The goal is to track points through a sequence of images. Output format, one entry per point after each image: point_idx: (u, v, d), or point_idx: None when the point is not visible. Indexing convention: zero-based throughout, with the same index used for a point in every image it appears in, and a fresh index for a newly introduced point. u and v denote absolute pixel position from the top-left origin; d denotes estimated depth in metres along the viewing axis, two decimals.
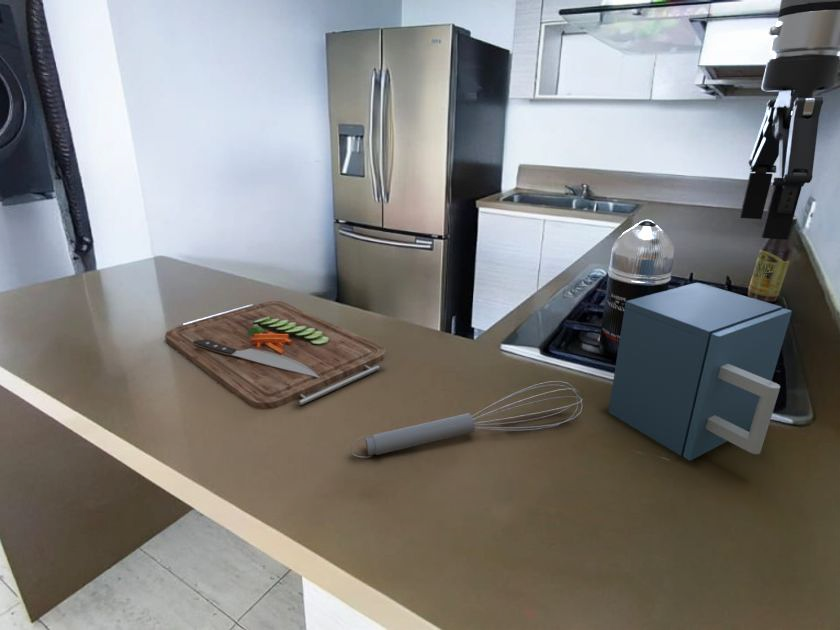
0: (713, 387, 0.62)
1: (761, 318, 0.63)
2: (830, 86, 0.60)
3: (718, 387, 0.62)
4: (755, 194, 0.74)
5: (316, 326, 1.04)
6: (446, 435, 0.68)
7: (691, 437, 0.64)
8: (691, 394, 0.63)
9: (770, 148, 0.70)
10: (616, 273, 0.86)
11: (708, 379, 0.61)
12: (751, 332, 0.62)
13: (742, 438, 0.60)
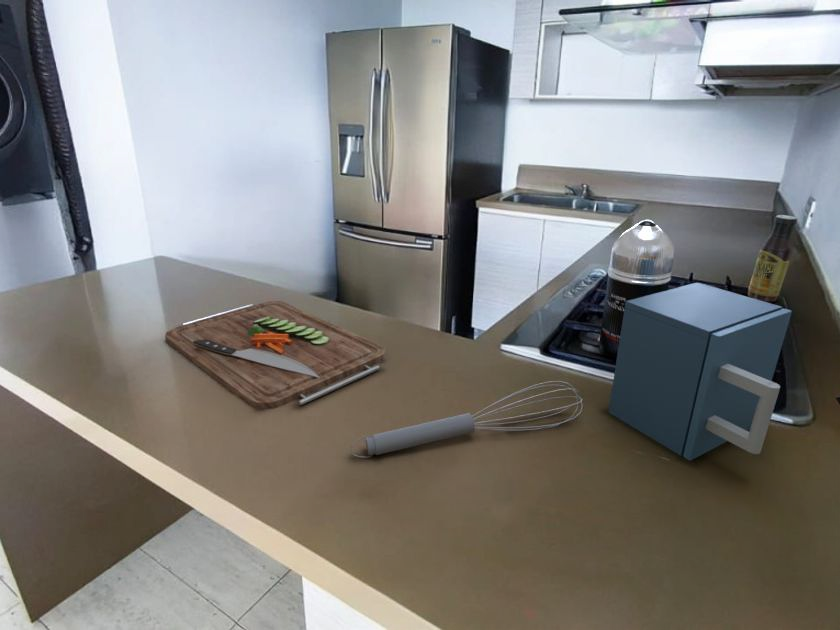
0: (713, 387, 0.62)
1: (761, 318, 0.63)
2: None
3: (718, 387, 0.62)
4: None
5: (316, 326, 1.04)
6: (446, 435, 0.68)
7: (691, 437, 0.64)
8: (691, 394, 0.63)
9: None
10: (616, 273, 0.86)
11: (708, 379, 0.61)
12: (751, 332, 0.62)
13: (742, 438, 0.60)
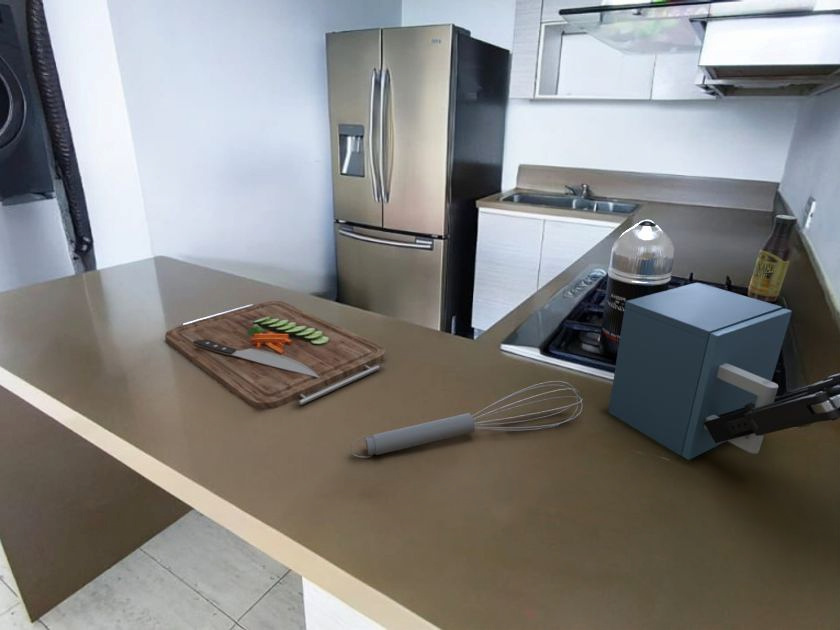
0: (712, 386, 0.62)
1: (760, 318, 0.63)
2: None
3: (717, 386, 0.62)
4: None
5: (316, 326, 1.04)
6: (446, 435, 0.68)
7: (690, 436, 0.64)
8: (691, 394, 0.63)
9: None
10: (616, 273, 0.86)
11: (706, 378, 0.61)
12: (750, 332, 0.62)
13: (740, 437, 0.60)
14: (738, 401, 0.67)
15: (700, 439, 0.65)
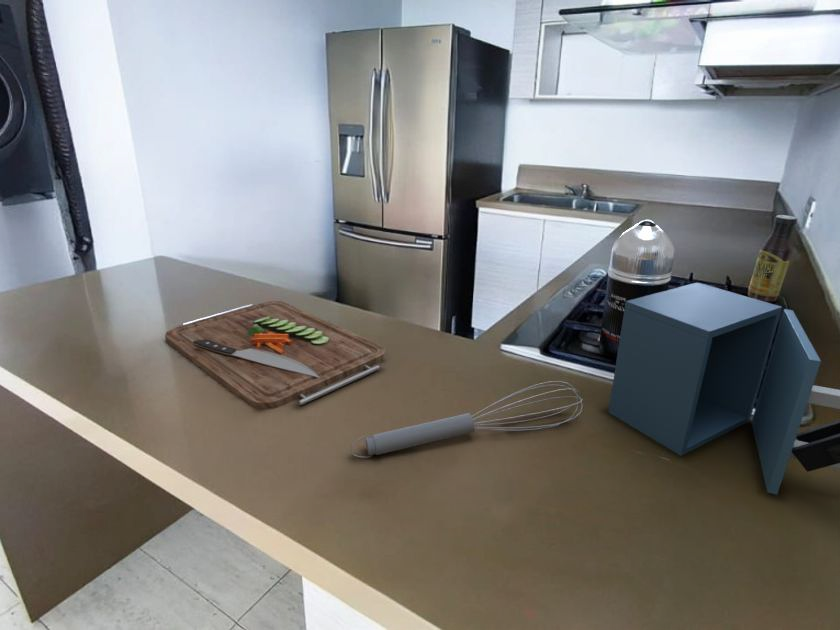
0: None
1: (796, 326, 0.61)
2: None
3: None
4: None
5: (316, 326, 1.04)
6: (446, 435, 0.68)
7: (779, 470, 0.58)
8: (691, 394, 0.63)
9: None
10: (616, 273, 0.86)
11: (804, 407, 0.55)
12: None
13: None
14: None
15: None
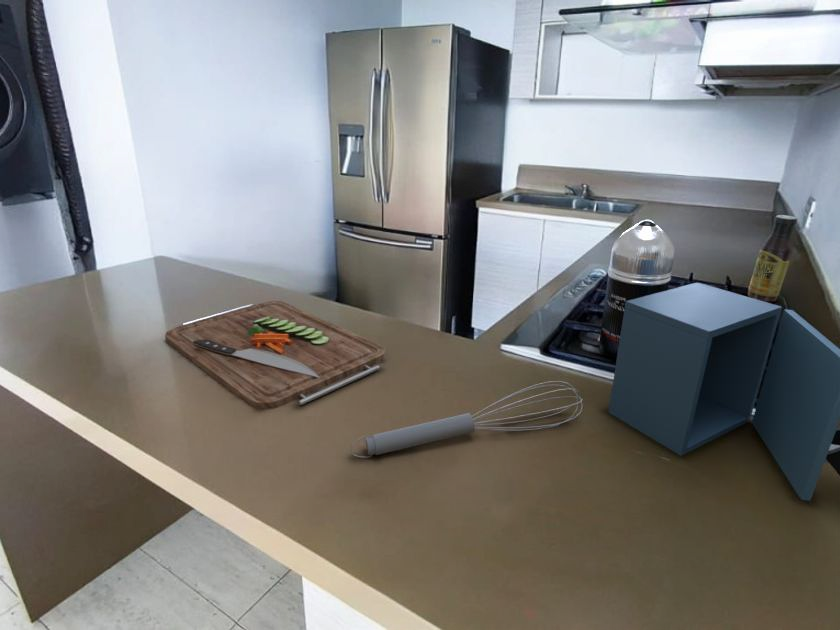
0: None
1: (808, 327, 0.61)
2: None
3: None
4: None
5: (316, 326, 1.04)
6: (446, 435, 0.68)
7: (814, 477, 0.57)
8: (691, 394, 0.63)
9: None
10: (616, 273, 0.86)
11: None
12: None
13: None
14: None
15: None
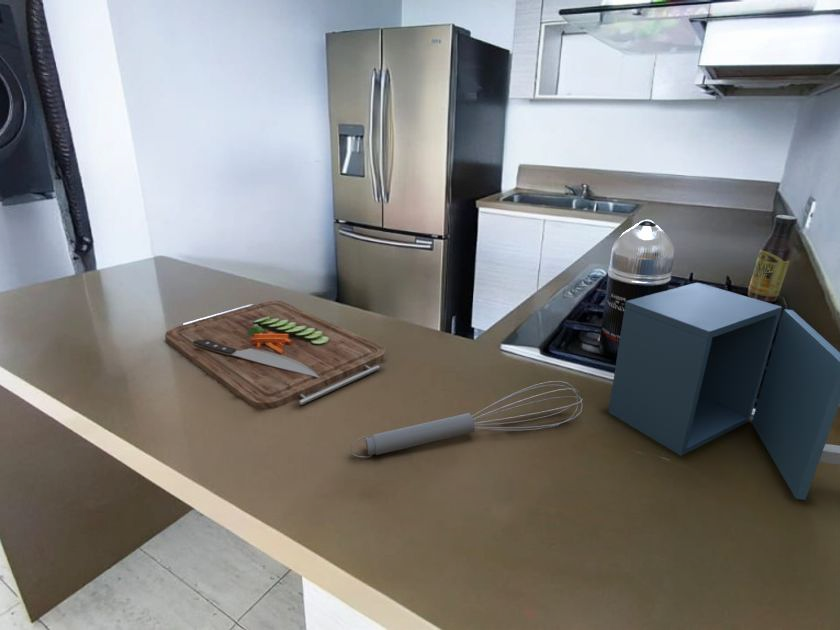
0: None
1: (806, 327, 0.61)
2: None
3: None
4: None
5: (316, 326, 1.04)
6: (446, 435, 0.68)
7: (808, 476, 0.57)
8: (691, 394, 0.63)
9: None
10: (616, 273, 0.86)
11: (835, 412, 0.54)
12: None
13: None
14: None
15: None
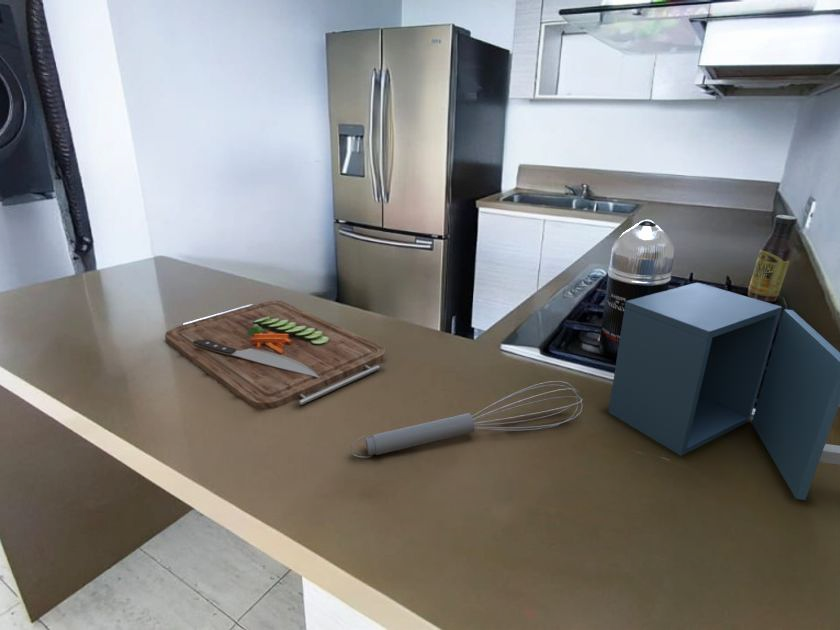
0: None
1: (806, 327, 0.61)
2: None
3: None
4: None
5: (316, 326, 1.04)
6: (446, 435, 0.68)
7: (808, 476, 0.57)
8: (691, 394, 0.63)
9: None
10: (616, 273, 0.86)
11: (835, 412, 0.54)
12: None
13: None
14: None
15: None
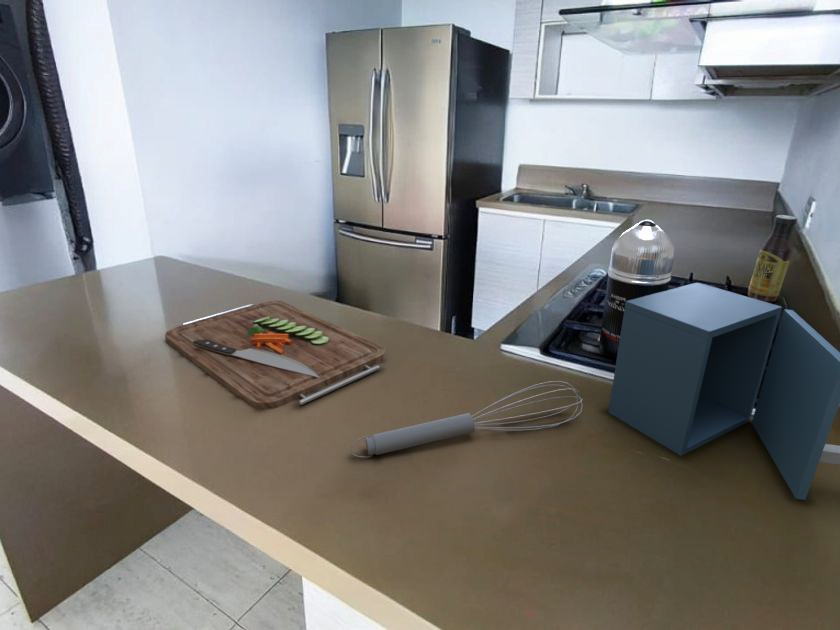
0: None
1: (806, 327, 0.61)
2: None
3: None
4: None
5: (316, 326, 1.04)
6: (446, 435, 0.68)
7: (808, 476, 0.57)
8: (691, 394, 0.63)
9: None
10: (616, 273, 0.86)
11: (835, 412, 0.54)
12: None
13: None
14: None
15: None
